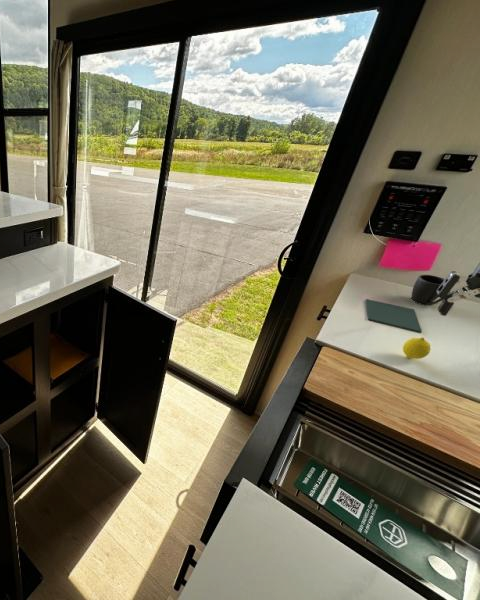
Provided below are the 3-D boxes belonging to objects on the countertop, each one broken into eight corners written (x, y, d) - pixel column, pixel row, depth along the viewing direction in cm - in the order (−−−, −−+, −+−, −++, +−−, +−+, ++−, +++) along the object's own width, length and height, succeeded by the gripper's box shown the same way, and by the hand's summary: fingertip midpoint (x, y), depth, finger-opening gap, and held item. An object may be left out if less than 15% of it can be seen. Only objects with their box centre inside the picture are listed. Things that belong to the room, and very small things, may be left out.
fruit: (421, 367, 93) (436, 346, 89) (396, 358, 96) (410, 338, 92) (422, 357, 96) (437, 337, 92) (398, 349, 100) (411, 329, 95)
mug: (422, 311, 117) (437, 289, 112) (401, 295, 127) (413, 273, 122) (449, 313, 115) (465, 290, 110) (425, 296, 125) (438, 275, 120)
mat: (413, 310, 117) (414, 309, 117) (421, 332, 106) (422, 331, 106) (365, 300, 124) (366, 298, 124) (368, 320, 113) (368, 318, 113)
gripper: (470, 254, 66) (428, 318, 74) (581, 270, 59) (520, 338, 67) (461, 242, 71) (422, 303, 80) (561, 255, 64) (507, 320, 72)
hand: (467, 319), depth 73 cm, fingers open, 8 cm apart
